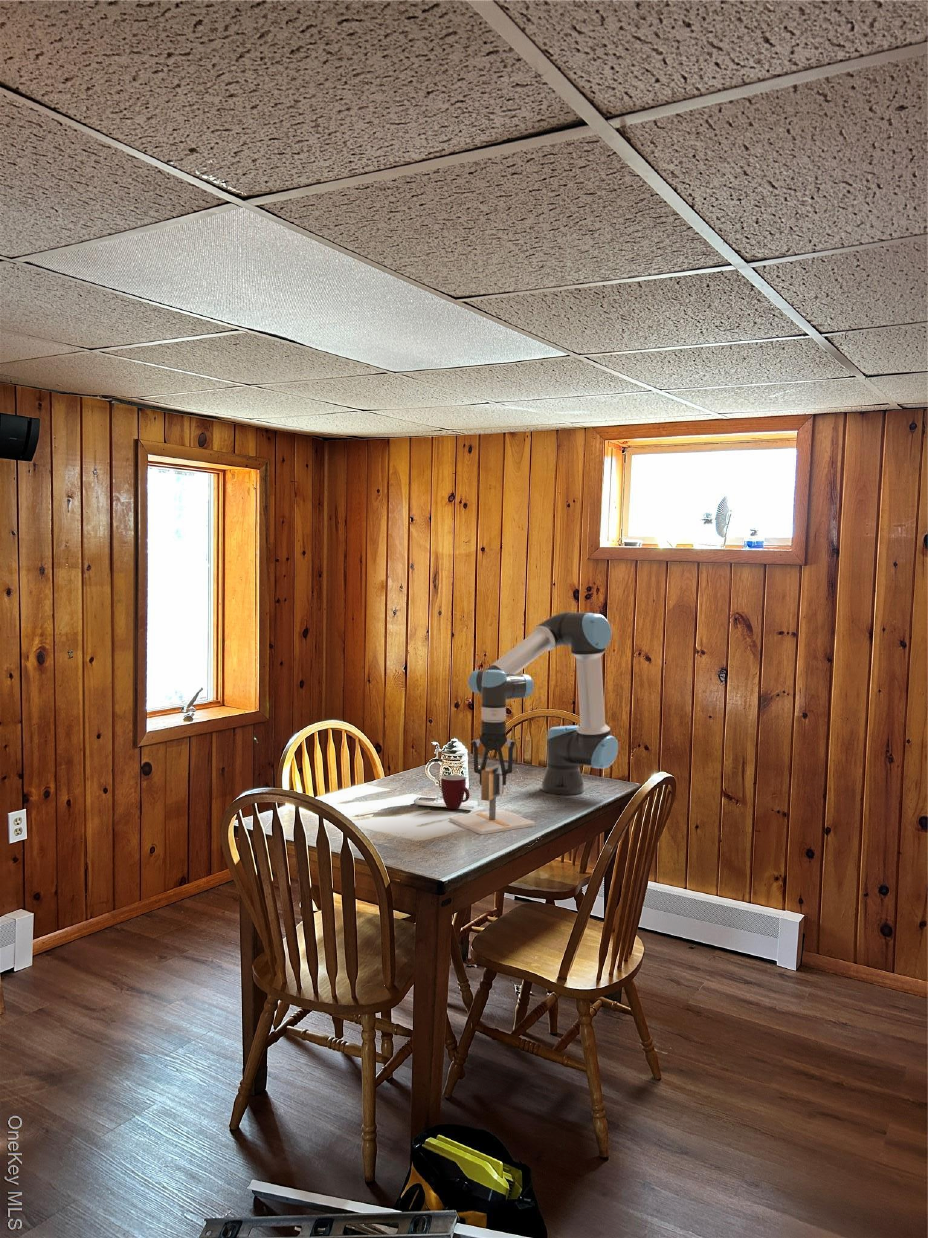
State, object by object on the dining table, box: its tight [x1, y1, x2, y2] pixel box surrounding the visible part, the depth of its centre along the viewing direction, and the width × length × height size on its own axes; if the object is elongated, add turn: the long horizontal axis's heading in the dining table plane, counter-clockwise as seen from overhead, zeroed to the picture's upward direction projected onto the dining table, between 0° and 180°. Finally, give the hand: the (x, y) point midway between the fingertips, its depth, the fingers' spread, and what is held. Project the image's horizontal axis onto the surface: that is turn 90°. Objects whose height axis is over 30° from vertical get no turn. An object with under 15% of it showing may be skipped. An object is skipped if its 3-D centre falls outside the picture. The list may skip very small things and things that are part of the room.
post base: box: [449, 797, 537, 835], centre depth 282 cm, size 20×18×8 cm
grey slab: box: [480, 763, 505, 802], centre depth 282 cm, size 11×3×9 cm, turn 153°
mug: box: [440, 774, 470, 810], centre depth 300 cm, size 11×8×10 cm
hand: (492, 795), depth 282 cm, fingers closed on grey slab, 4 cm apart
